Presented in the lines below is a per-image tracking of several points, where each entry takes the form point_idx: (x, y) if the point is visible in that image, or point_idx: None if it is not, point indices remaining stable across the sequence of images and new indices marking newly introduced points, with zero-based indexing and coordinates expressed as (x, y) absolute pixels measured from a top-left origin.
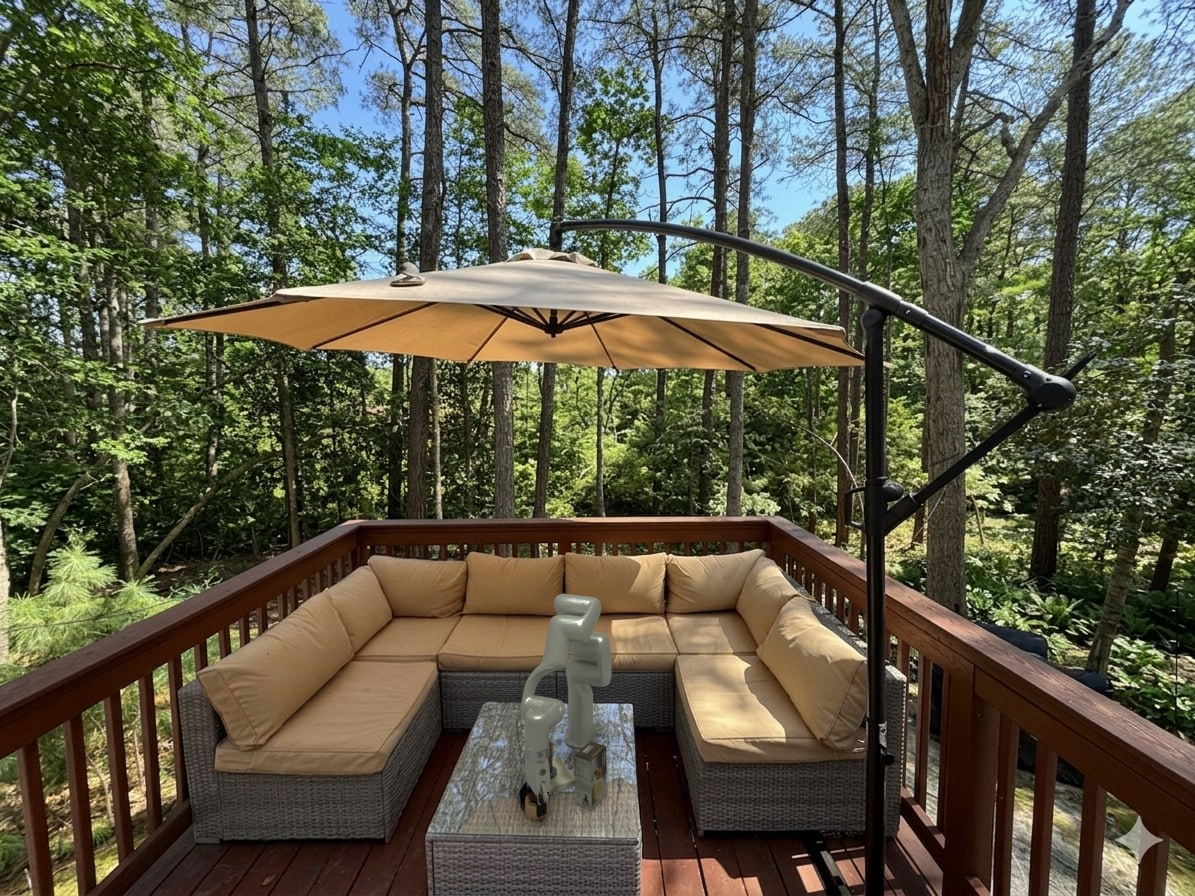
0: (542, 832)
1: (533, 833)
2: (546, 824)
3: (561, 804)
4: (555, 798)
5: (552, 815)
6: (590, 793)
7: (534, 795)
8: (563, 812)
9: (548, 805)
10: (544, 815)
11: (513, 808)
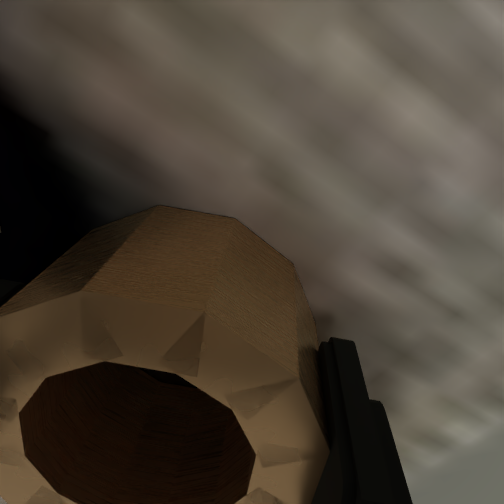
0: (468, 423)
1: (412, 470)
2: (417, 352)
3: (262, 2)
4: (90, 7)
5: (356, 236)
6: None
7: (35, 415)
8: (424, 83)
9: (229, 239)
10: (313, 324)
11: None
